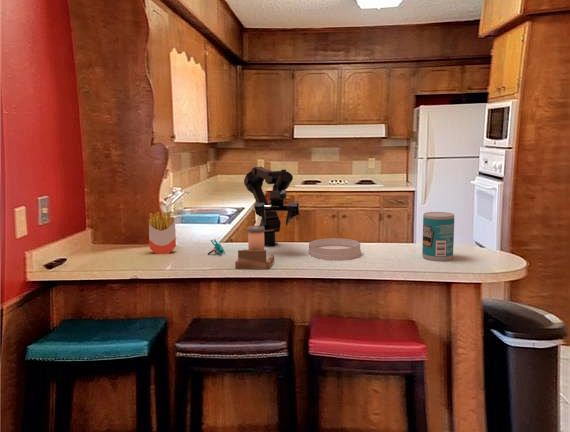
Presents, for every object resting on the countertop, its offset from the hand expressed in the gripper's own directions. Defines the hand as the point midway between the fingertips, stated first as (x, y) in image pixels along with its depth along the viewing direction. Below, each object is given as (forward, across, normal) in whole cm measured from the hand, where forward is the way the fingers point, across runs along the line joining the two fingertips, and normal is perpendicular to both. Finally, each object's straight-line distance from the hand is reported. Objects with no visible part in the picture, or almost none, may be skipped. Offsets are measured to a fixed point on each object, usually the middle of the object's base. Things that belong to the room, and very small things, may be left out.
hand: (275, 225), depth 216 cm
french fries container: (+6, -51, +14) cm, 53 cm away
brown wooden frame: (+19, -6, +1) cm, 20 cm away
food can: (+8, +66, +11) cm, 68 cm away
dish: (+6, +24, +14) cm, 29 cm away
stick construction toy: (+6, -27, +14) cm, 31 cm away
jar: (+16, -6, +3) cm, 18 cm away
